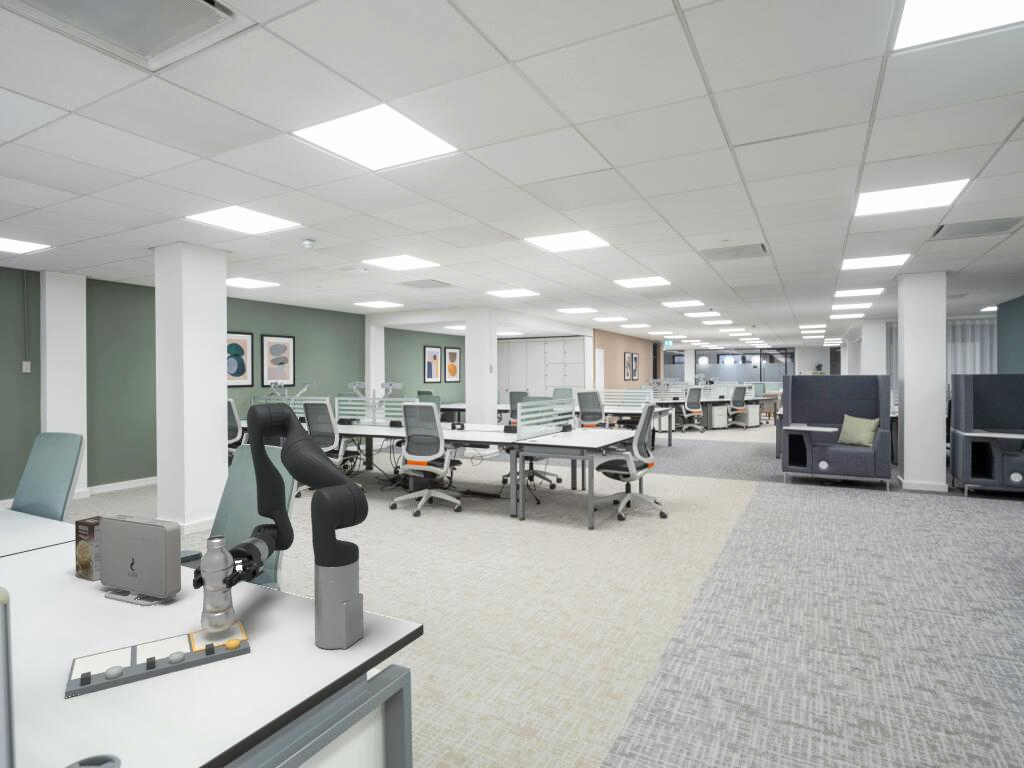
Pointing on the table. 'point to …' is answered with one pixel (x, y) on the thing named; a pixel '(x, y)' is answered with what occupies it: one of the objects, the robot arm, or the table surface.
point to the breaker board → (154, 659)
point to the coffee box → (87, 548)
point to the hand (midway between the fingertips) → (211, 584)
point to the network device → (140, 558)
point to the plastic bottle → (216, 586)
